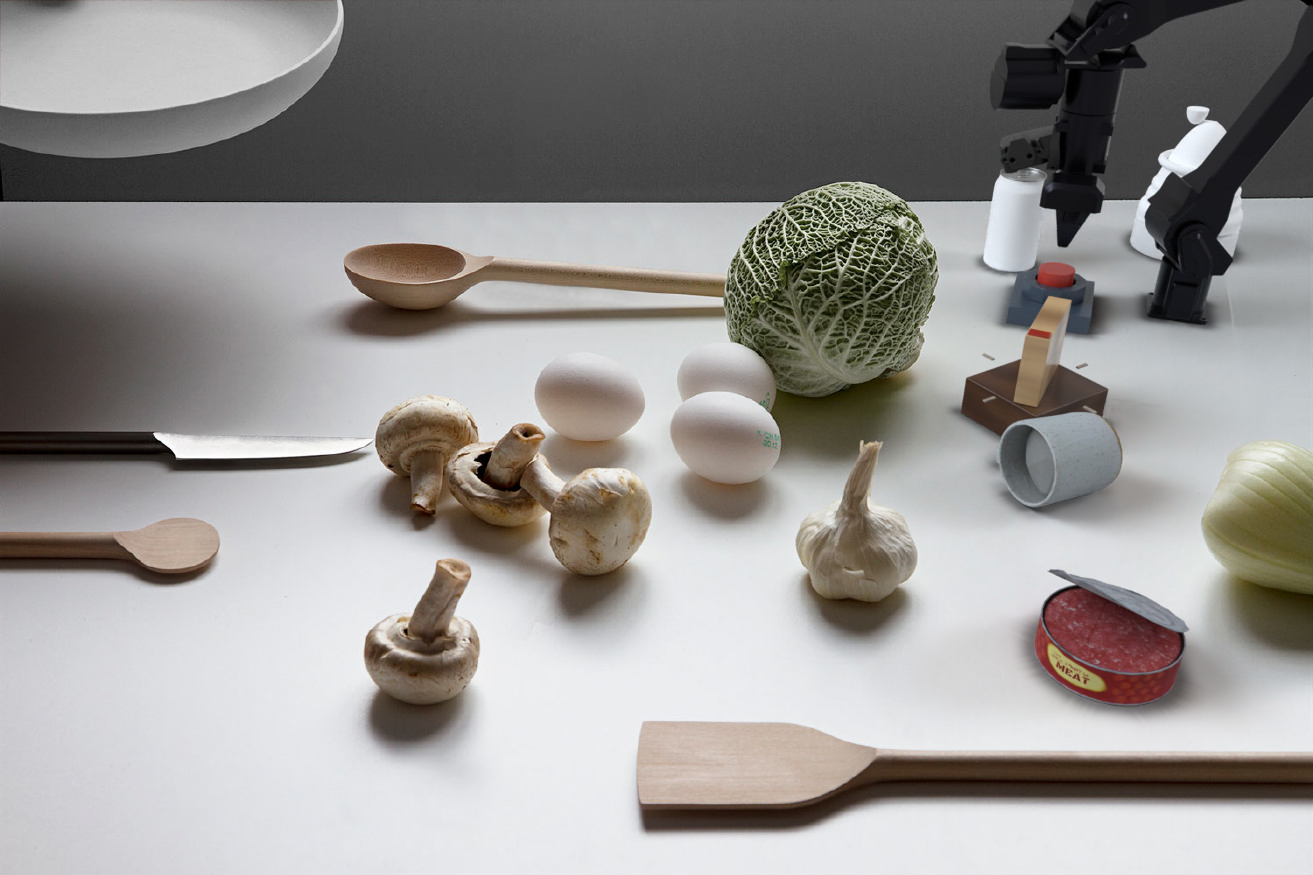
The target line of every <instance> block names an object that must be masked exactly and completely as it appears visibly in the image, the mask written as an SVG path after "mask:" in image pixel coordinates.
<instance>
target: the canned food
mask: <svg viewBox="0 0 1313 875" xmlns="http://www.w3.org/2000/svg"><path fill="white" fill-rule="evenodd" d="M1047 572H1048V573H1050V574H1052V575H1055V576H1056V577H1058V578H1060V579H1063V580H1065V581H1067V582H1069V583H1072V584H1071V585H1067V586H1063V587H1061V588H1058V589H1057V590H1056V591H1054V592H1052V593H1050V594H1049V595H1048V597H1047V598H1046V599H1044V601H1043V603H1042V606H1041V608H1040V614H1039V619H1038V623H1037V627H1036V632H1035V636H1034V641H1033V649H1034V654H1035V657H1036V658H1037V661H1038V663H1039V664H1040V666H1041V667H1042V669H1043V670H1044V671H1045V672H1046V674H1047V675H1048V676H1049V677H1051V678H1052V679H1053V681H1055V682H1056V683H1057V684H1058V685H1061V686H1062V687H1063V688H1065V689H1066V690H1068V691H1069V692H1072V693H1074V694H1075V695H1078V696H1080V697H1082V698H1085V699H1087V700H1091V701H1094V702H1098V703H1101V704H1107V705H1110V706H1111V705H1112V706H1121V707H1123V706H1124V707H1128V706H1129V707H1130V706H1132V707H1133V706H1142V705H1146V704H1151V703H1153V702H1156V701H1158V700H1160V699H1162V698H1163V697H1165V696H1166V695H1167V694H1169V693H1170V691H1172V689H1173V687H1174V686H1175V684H1176V680H1177V677H1178V672H1179V670H1180V666H1181V663H1182V660H1183V657H1184V655H1185V652H1186V648H1187V641H1186V639H1187V638H1186V635H1185V633H1187V632H1188V631H1190V628H1189V627H1188V626H1187V624H1186V622H1185V620H1183V619H1182V618H1180V617H1178V616H1177V615H1175V614H1174V613H1173V612H1172V611H1171V610H1170V609H1168V608H1166V607H1164V606H1163V605H1161V604H1159V603H1158V602H1157V601H1155V600H1153V599H1151V598H1150V597H1148V596H1146V595H1143V594H1141V593H1139V592H1137V591H1134V590H1132V589H1128V588H1124V587H1121V586H1119V585H1115V584H1111V583H1107V582H1103V581H1101V580H1098V579H1095V578H1090V577H1083V576H1080V575H1076V574H1073V573H1068V572H1067V571H1065V570H1063V569H1059V568H1050V569H1049V570H1047Z"/></svg>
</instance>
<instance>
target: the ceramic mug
mask: <svg viewBox="0 0 1313 875" xmlns="http://www.w3.org/2000/svg"><path fill="white" fill-rule="evenodd" d="M994 450H995V461H996V464H998V465H999V471H1000V474H1001V478H1002V481H1003V482H1004V485H1005V486H1006V488H1007V490H1008V491H1009V493H1010V494H1011V495H1012V496H1013V498H1014V499H1016V500H1017V501H1018V502H1020V503H1021V504H1022V505H1024V506H1026V507H1029V508H1041V507H1045V506H1048V505H1052V504H1056V503H1059V502H1064V501H1067V500H1071V499H1074V498H1077V497H1081V496H1086V495H1089V494H1093V493H1096V492H1099V491H1101V490H1103V489H1105V488H1106V487H1108V486H1109V485H1111V484H1113V483H1114V481H1116V479H1117V478H1118V476H1119V474H1120V472H1121V469H1122V466H1123V459H1124V458H1123V457H1124V456H1123V453H1124V452H1123V446H1122V442H1121V439H1120V436H1119V435H1118V433H1117V431H1116V429H1115V428H1114V426H1113V425H1112V424H1111V423H1110V421H1109V420H1108V419H1106V418H1105V417H1103V416H1102V417H1101V416H1100V415H1097V414H1094V413H1087V412H1072V413H1067V414H1062V415H1056V416H1049V417H1041V418H1034V419H1027V420H1021V421H1018V422H1015V423H1013V424H1011V425H1010V426H1009V427H1008V428H1007V429H1006V430H1005V432H1004V433H1003V435H1002V436H1000V441H999V444H997V445H996V446H995V449H994Z"/></svg>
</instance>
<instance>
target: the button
mask: <svg viewBox="0 0 1313 875" xmlns="http://www.w3.org/2000/svg"><path fill="white" fill-rule="evenodd" d="M1038 269H1039V273H1038V278H1037V281H1038V282H1039V283H1041V284H1044V285H1046V286H1051V287H1058V288H1062V287H1071V286H1072V285H1073V282H1074V277H1075V273H1076V271H1077V270H1076V269H1075V268H1074V267H1073V266H1072V265H1070V264H1067V263H1063V262H1058V261H1049V262H1044V263H1041V264H1040V265H1039V268H1038Z"/></svg>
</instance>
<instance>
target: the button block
mask: <svg viewBox="0 0 1313 875" xmlns="http://www.w3.org/2000/svg"><path fill="white" fill-rule="evenodd" d="M1038 273H1039V268H1032V269H1030V270H1028V271H1025V272H1017V273H1016V276H1015V280H1014V284H1013V287H1012V291H1011V296H1010V300H1009V304H1008V307H1007V314H1006V320H1005V324H1007V325H1012V326H1021V327H1026V328H1027V327H1028V328H1030V327H1031V325H1032V324H1033V322H1034V320H1035V319H1036V317H1037V315H1038V313H1039V312H1040V310H1041V308H1042V307H1043V305H1044V303H1045V302H1046V300H1047V298H1048V297H1049V296H1052V297H1058V298H1063V299H1068V300H1072V302H1071V307H1070V312H1069V317H1068V322H1067V327H1066V332H1065V333H1069V334H1076V335H1085V336H1088V334H1089V331H1090V326H1091V321H1092V314H1093V304H1094V295H1095V285H1096V281H1095V280H1087V279H1086V278H1085V277H1083V276H1082V275H1081V274H1079V273H1076V272H1075V277H1074V282H1073V285H1072V286H1071V287H1062V288H1058V287H1051V286H1046V285H1044V284H1041V283H1039V282H1038V281H1037V278H1038Z"/></svg>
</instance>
